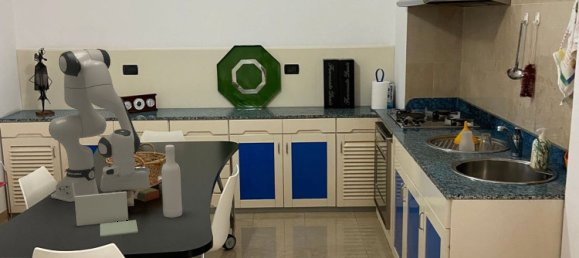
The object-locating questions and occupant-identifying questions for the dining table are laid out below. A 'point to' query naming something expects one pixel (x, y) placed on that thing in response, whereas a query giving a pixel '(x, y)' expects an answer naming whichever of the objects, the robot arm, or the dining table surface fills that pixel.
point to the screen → (101, 208)
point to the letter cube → (129, 197)
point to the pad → (118, 228)
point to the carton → (147, 194)
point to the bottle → (171, 185)
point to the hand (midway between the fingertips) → (126, 199)
